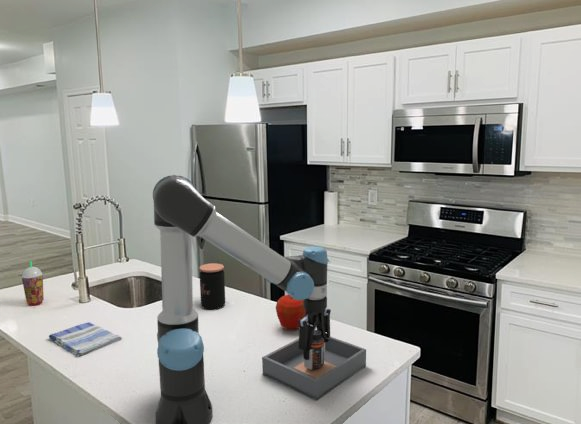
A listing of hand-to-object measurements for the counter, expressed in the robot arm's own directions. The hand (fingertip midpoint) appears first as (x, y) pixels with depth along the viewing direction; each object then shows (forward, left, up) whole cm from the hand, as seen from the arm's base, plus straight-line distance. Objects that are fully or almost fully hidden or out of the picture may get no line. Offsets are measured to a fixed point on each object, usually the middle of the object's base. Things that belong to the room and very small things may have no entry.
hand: (314, 363), depth 151 cm
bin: (0, 0, -2) cm, 2 cm away
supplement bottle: (0, 0, 0) cm, 0 cm away
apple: (+19, +27, -3) cm, 33 cm away
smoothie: (-37, +132, -2) cm, 137 cm away
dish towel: (-39, +79, -3) cm, 88 cm away
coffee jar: (+14, +69, -3) cm, 70 cm away
